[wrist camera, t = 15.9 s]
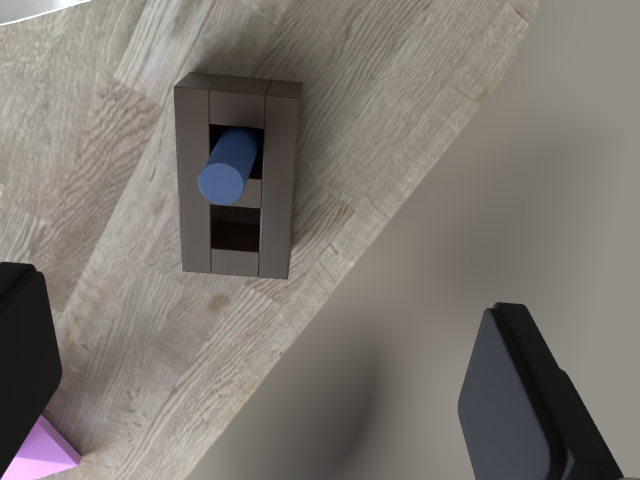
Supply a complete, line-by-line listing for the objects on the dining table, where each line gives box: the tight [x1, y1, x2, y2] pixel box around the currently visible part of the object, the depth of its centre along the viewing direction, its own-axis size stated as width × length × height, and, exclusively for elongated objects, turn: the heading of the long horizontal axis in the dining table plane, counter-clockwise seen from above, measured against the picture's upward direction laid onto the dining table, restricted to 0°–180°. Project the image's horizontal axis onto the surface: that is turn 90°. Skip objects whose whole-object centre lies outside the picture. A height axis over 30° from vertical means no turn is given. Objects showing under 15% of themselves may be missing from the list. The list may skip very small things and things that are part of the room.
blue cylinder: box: [198, 125, 263, 205], centre depth 40 cm, size 3×3×11 cm
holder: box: [174, 72, 303, 280], centre depth 44 cm, size 9×16×5 cm, turn 175°
